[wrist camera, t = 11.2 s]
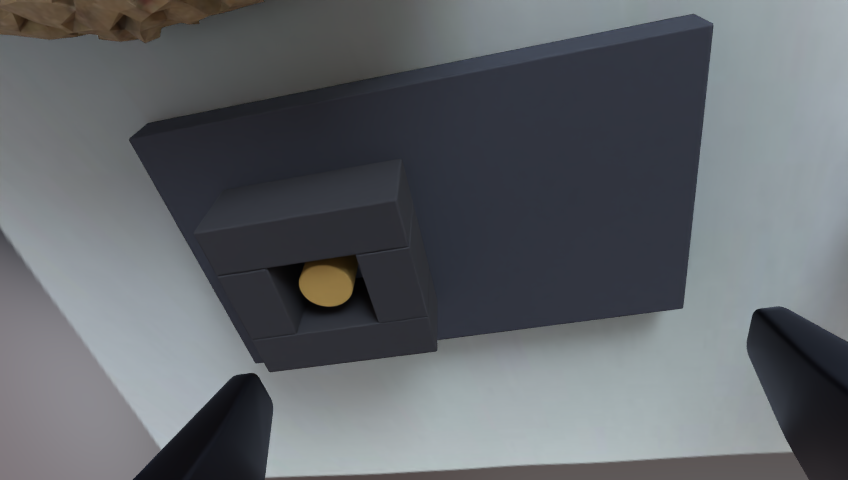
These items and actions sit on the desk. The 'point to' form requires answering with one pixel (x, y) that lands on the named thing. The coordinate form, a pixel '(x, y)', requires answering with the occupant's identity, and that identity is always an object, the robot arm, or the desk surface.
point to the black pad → (316, 240)
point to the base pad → (488, 173)
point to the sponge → (106, 17)
